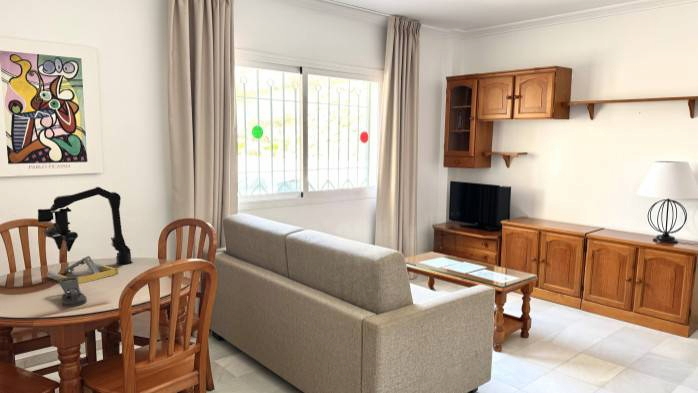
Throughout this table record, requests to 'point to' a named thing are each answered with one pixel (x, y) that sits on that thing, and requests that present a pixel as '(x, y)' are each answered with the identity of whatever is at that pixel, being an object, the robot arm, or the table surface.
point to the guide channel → (108, 272)
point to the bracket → (82, 264)
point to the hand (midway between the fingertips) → (64, 250)
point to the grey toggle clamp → (71, 292)
